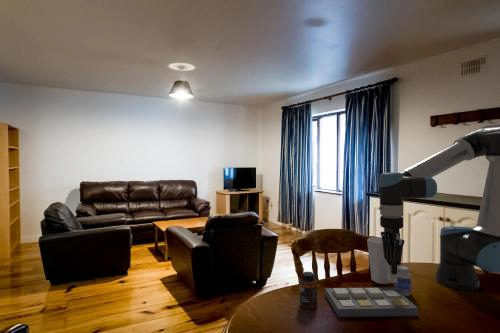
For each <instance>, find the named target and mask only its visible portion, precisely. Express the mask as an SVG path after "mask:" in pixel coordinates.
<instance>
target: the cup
mask: <svg viewBox="0 0 500 333" xmlns="http://www.w3.org/2000/svg"><path fill="white" fill-rule="evenodd" d="M366 240H367V241H366V242H367V243H366V244H367V251H368V259H369V266H370V277H371V280H372V281H373V282H374V283H376V284H381V285H385V284H386V285H389V284H390V283H389V282H388V263H387V261H386V259H384V252H383V244H382V237H381V236H380V237H379V236H371V237H369V238H368V239H366Z"/></svg>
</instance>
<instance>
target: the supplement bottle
mask: <svg viewBox="0 0 500 333" xmlns="http://www.w3.org/2000/svg"><path fill="white" fill-rule="evenodd" d="M299 305H300V306H301V308H303V309H307V310H309V309H310V310H314V309H315V308H317V307H318V281H317V280H316V278H315V273H314V272H312V271H303V272H302V278H300V280H299Z"/></svg>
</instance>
